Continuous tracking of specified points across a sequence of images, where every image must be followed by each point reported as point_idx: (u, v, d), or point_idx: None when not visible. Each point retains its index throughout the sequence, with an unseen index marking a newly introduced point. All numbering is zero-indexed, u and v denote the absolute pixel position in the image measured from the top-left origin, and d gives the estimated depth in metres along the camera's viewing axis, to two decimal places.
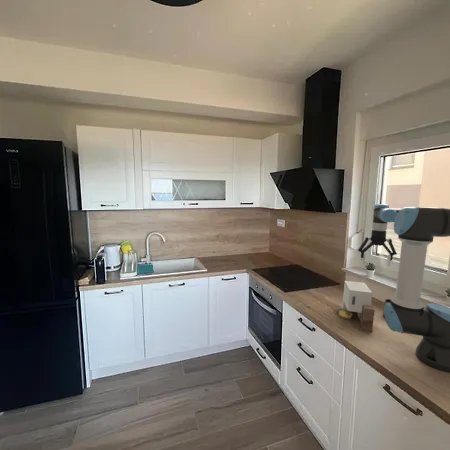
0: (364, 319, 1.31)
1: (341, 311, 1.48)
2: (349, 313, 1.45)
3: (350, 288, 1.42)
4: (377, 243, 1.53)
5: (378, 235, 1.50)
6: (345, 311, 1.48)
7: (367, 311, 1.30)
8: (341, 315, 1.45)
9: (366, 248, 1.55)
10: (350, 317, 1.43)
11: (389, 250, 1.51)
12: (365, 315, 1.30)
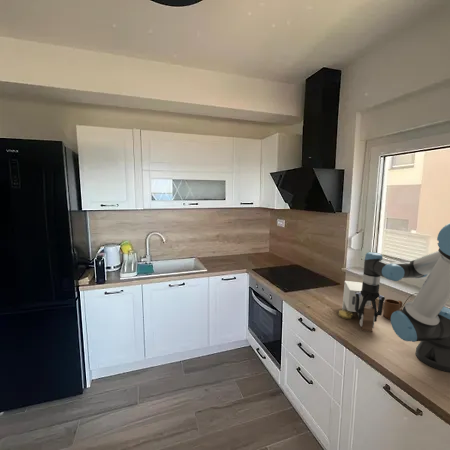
0: (364, 319, 1.31)
1: (341, 311, 1.47)
2: (349, 312, 1.46)
3: (350, 288, 1.42)
4: (368, 298, 1.30)
5: (370, 290, 1.27)
6: (344, 311, 1.48)
7: (366, 311, 1.30)
8: (343, 315, 1.44)
9: (362, 307, 1.31)
10: (351, 316, 1.44)
11: (376, 309, 1.30)
12: (365, 315, 1.30)
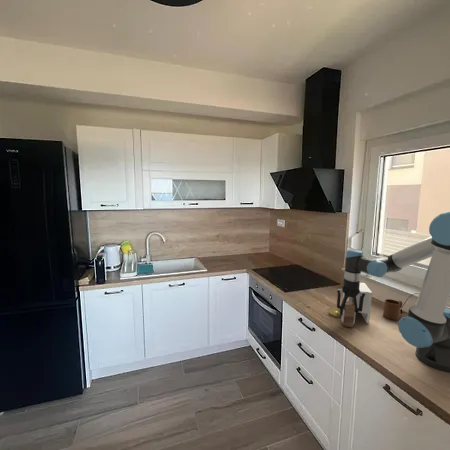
0: (345, 315, 1.33)
1: (331, 310, 1.49)
2: (339, 311, 1.48)
3: None
4: (349, 295, 1.33)
5: (350, 286, 1.30)
6: (334, 309, 1.50)
7: (347, 307, 1.32)
8: (334, 314, 1.45)
9: (343, 303, 1.34)
10: None
11: (356, 305, 1.32)
12: (346, 311, 1.33)
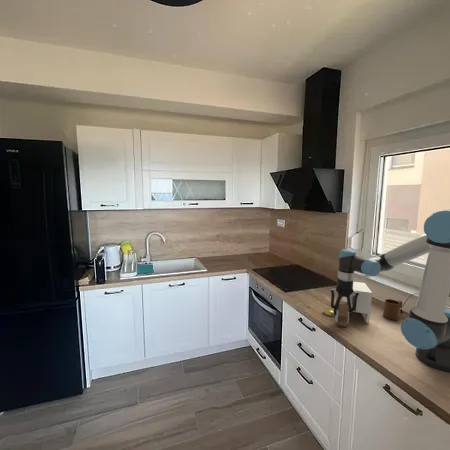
0: (339, 315, 1.34)
1: (326, 309, 1.49)
2: (333, 310, 1.48)
3: None
4: (343, 294, 1.33)
5: (343, 286, 1.30)
6: (329, 309, 1.50)
7: (341, 307, 1.33)
8: (328, 314, 1.46)
9: (337, 303, 1.35)
10: None
11: (350, 305, 1.33)
12: (340, 311, 1.34)
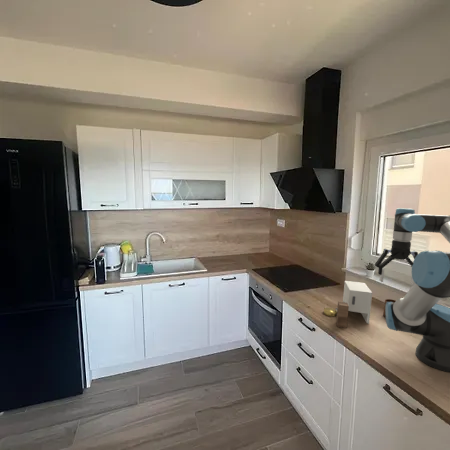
0: (339, 315, 1.34)
1: (326, 309, 1.49)
2: (333, 310, 1.48)
3: (350, 288, 1.42)
4: (399, 257, 1.23)
5: (401, 247, 1.21)
6: (329, 309, 1.50)
7: (341, 308, 1.33)
8: (328, 314, 1.46)
9: (385, 263, 1.25)
10: (336, 314, 1.47)
11: None
12: (340, 311, 1.34)
